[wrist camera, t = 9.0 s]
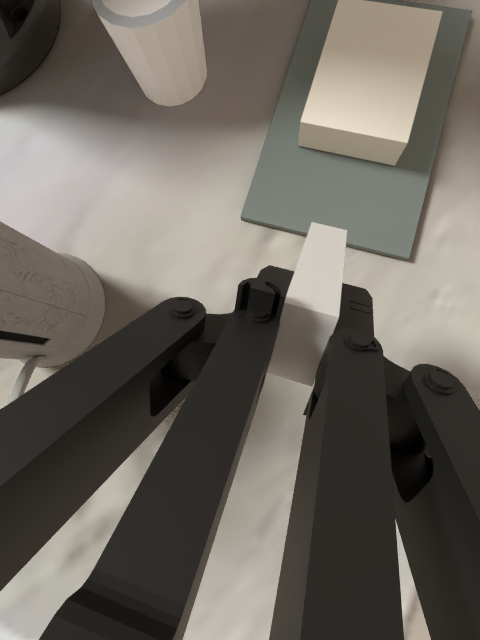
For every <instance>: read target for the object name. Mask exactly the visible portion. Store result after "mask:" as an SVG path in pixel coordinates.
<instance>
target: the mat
mask: <svg viewBox="0 0 480 640" xmlns="http://www.w3.org/2000/svg"><path fill="white" fill-rule="evenodd" d="M365 1H372V2H379V3H387V4H394V5H401V6H408V7H415V8H422V9H429V10H436V11H443V12H442V16H441V20H440V23H439V27H438V31H437V35H436V38H435V42H434V46H433V50H432V53H431V57H430V61H429V65H428V68H427V72H426V76H425V80H424V83H423V87H422V91H421V95H420V98H419V102H418V106H417V110H416V113H415V117H414V121H413V125H412V128H411V132H410V136H409V140H408V143H407V145H406V147H405V148H404V150H403V152H402V154H401V156H400V157H399V159H398V161H397V163H396V164H395V166H393V165H389V164H384V163H379V162H374V161H369V160H365V159H360V158H355V157H350V156H345V155H341V154H336V153H331V152H326V151H321V150H317V149H312V148H307V147H302V146H298V140H299V130H300V121H301V118H302V115H303V111H304V108H305V105H306V102H307V99H308V95H309V92H310V89H311V86H312V83H313V79H314V76H315V73H316V70H317V67H318V63H319V60H320V57H321V54H322V51H323V47H324V44H325V41H326V38H327V35H328V31H329V28H330V25H331V22H332V19H333V15H334V12H335V9H336V6H337V3H338V0H311V1H310V4H309V7H308V11H307V14H306V17H305V20H304V23H303V26H302V29H301V32H300V35H299V38H298V41H297V44H296V48H295V51H294V54H293V57H292V60H291V63H290V66H289V69H288V72H287V75H286V78H285V81H284V85H283V88H282V91H281V94H280V97H279V100H278V103H277V106H276V109H275V112H274V115H273V118H272V122H271V125H270V128H269V131H268V134H267V137H266V140H265V143H264V146H263V149H262V152H261V155H260V159H259V162H258V165H257V168H256V171H255V174H254V177H253V180H252V183H251V186H250V189H249V192H248V196H247V199H246V202H245V205H244V208H243V211H242V214H241V220H243V221H247V222H252V223H256V224H260V225H264V226H268V227H272V228H276V229H280V230H284V231H288V232H292V233H296V234H300V235H304V236H307V234H308V231H309V228H310V226H311V223H312V222H314V223H318V224H323V225H327V226H331V227H335V228H340V229H344V230H347V238H346V246H349V247H353V248H357V249H361V250H365V251H369V252H373V253H377V254H381V255H385V256H389V257H393V258H397V259H401V260H405V261H407V260H408V259H409V257H410V253H411V249H412V245H413V241H414V237H415V234H416V230H417V226H418V222H419V218H420V214H421V210H422V206H423V202H424V198H425V194H426V190H427V186H428V182H429V178H430V174H431V170H432V167H433V163H434V159H435V155H436V151H437V147H438V143H439V139H440V135H441V131H442V127H443V123H444V119H445V115H446V111H447V107H448V104H449V100H450V96H451V92H452V88H453V84H454V80H455V76H456V72H457V68H458V64H459V60H460V56H461V52H462V48H463V44H464V40H465V37H466V33H467V29H468V25H469V21H470V17H471V13H472V11H470V10H463V9H455V8H448V7H441V6H434V5H427V4H419V3H412V2H405V1H398V0H365Z"/></svg>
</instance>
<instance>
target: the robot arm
mask: <svg viewBox="0 0 480 640" xmlns="http://www.w3.org/2000/svg"><path fill="white" fill-rule="evenodd" d="M59 18H60V6H59V0H0V94H1V93H3V92H5V91H7V90H9V89H10V88H12V87H14V86H15V85H17V84H18V83H20V82H21V81H22V80H24V79H25V78H26V77H27V76H28V75H29V74H30V73H31V72H32V71H34V69H35V68H36V67H37V66H38V65H39V64H40V62H41V61H42V60H43V59H44V57H45V56H46V54H47V52H48V51H49V49H50V47H51V45H52V43H53V41H54V39H55V36H56V33H57V29H58V25H59ZM346 238H347V230H344V229H340V228H335V227H331V226H327V225H323V224H318V223H314V222H312V223H311V226H310V228H309V231H308V234H307V237H306V240H305V243H304V246H303V249H302V252H301V255H300V257H299V260H298V263H297V266H296V269H295V272H294V271H290V270H286V269H282V268H278V267H274V266H271V265H269V266H267V267H266V268H264V269H262V270H261V271H260V273H259V275H258V277H257V278H249V279H246V280H243V281H242V282H241V283H240V284H239V285H238V292H237V298H236V305H235V310H234V311H233V312H232V313H229V314H206V309H205V307H204V306H203V304H202V303H200V302H199V301H197V300H195V299H191V298H188V297H175V298H170V299H167V300H165V301H163V302H162V303H160V304H159V305H157V306H156V307H154V308H153V309H151V310H150V311H148V312H147V313H145V314H143V315H142V316H140V317H139V318H137V319H136V320H134V321H133V322H131V323H130V324H128V325H127V326H125V327H124V328H122V329H121V330H119V331H118V332H116V333H115V334H113V335H112V336H110V337H109V338H107V339H106V340H104V341H103V342H101V343H100V344H98V345H97V346H95V347H94V348H92V349H91V350H89V351H88V352H86V353H85V354H83V355H82V356H80V357H79V358H77V359H76V360H74V361H73V362H71V363H70V364H68V365H67V366H65V367H64V368H62V369H61V370H59V371H58V372H56V373H55V374H53V375H52V376H50V377H49V378H47V379H46V380H44V381H43V382H41V383H40V384H38V385H37V386H35V387H34V388H32V389H31V390H29V391H28V392H26V393H25V394H23V395H21V396H20V397H18V398H17V399H15V400H14V401H12V402H11V403H9V404H8V405H6V406H5V407H3V408H2V409H0V591H1V590H2V589H3V588H4V587H5V586H6V585H7V584H8V583H9V582H10V580H11V579H12V578H13V577H14V576H15V575H16V574H17V573H18V572H19V571H20V570H21V569H22V568H23V567H24V566H25V565H26V564H27V563H28V562H29V561H30V560H31V558H32V557H33V556H34V555H35V554H36V553H37V552H38V551H39V550H40V549H41V548H42V547H43V546H44V545H45V544H46V543H47V542H48V541H49V540H50V539H51V537H52V536H53V535H54V534H55V533H56V532H57V531H58V530H59V529H60V528H61V527H62V526H63V525H64V524H65V523H66V522H67V521H68V520H69V519H70V518H71V517H72V515H73V514H74V513H75V512H76V511H77V510H78V509H79V508H80V507H81V506H82V505H83V504H84V503H85V502H86V501H87V500H88V499H89V498H90V497H91V496H92V495H93V493H94V492H95V491H96V490H97V489H98V488H99V487H100V486H101V485H102V484H103V483H104V482H105V481H106V480H107V479H108V478H109V477H110V476H111V475H112V474H113V472H114V471H115V470H116V469H117V468H118V467H119V466H120V465H121V464H122V463H123V462H124V461H125V460H126V459H127V458H128V457H129V456H130V455H131V454H132V453H133V452H134V450H135V449H136V448H137V447H138V446H139V445H140V444H141V443H142V442H143V441H144V440H145V439H146V438H147V437H148V436H149V435H150V434H151V433H152V432H153V431H154V429H155V428H156V427H157V426H158V425H159V424H160V423H161V422H162V421H163V420H164V419H165V418H166V417H167V416H168V415H169V414H170V413H171V412H172V411H173V410H174V409H175V407H176V406H177V405H178V404H179V403H180V402H181V401H182V400H183V399H184V398H185V397H186V396H187V395H188V396H187V398H186V400H185V402H184V404H183V405H182V407H181V409H180V411H179V413H178V415H177V416H176V418H175V420H174V422H173V424H172V426H171V427H170V429H169V431H168V433H167V435H166V437H165V439H164V440H163V442H162V444H161V446H160V448H159V450H158V451H157V453H156V455H155V457H154V459H153V461H152V462H151V464H150V466H149V468H148V470H147V472H146V474H145V475H144V477H143V479H142V481H141V483H140V485H139V486H138V488H137V490H136V492H135V494H134V496H133V498H132V499H131V501H130V503H129V505H128V507H127V509H126V510H125V512H124V514H123V516H122V518H121V520H120V521H119V523H118V525H117V527H116V529H115V531H114V533H113V534H112V536H111V538H110V540H109V542H108V544H107V545H106V547H105V549H104V551H103V553H102V555H101V556H100V558H99V560H98V562H97V564H96V566H95V568H94V569H93V571H92V573H91V574H90V576H89V578H88V579H87V580H86V582H85V583H84V584H83V586H82V587H81V588H80V589H79V590H77V591H76V592H75V593H74V594H72V595H71V596H70V597H69V598H68V599H67V600H66V601H65V602H64V603H63V605H62V606H61V607H60V609H59V610H58V611H57V612H56V614H55V615H54V617H53V618H52V620H51V621H50V623H49V624H48V626H47V628H46V629H45V631H44V632H43V634H42V636H41V637H40V639H39V640H183V636H184V633H185V630H186V627H187V624H188V621H189V618H190V614H191V611H192V608H193V605H194V602H195V599H196V595H197V592H198V589H199V586H200V583H201V580H202V576H203V573H204V570H205V567H206V564H207V561H208V558H209V554H210V551H211V548H212V545H213V542H214V539H215V535H216V532H217V529H218V526H219V523H220V520H221V516H222V513H223V510H224V507H225V504H226V501H227V497H228V494H229V491H230V488H231V485H232V482H233V479H234V475H235V472H236V469H237V466H238V463H239V460H240V456H241V453H242V450H243V447H244V444H245V441H246V437H247V434H248V431H249V428H250V425H251V422H252V419H253V415H254V412H255V409H256V406H257V403H258V400H259V396H260V393H261V390H262V387H263V384H264V380H265V376H266V372H267V373H270V374H274V375H277V376H280V377H283V378H287V379H290V380H293V381H296V382H300V383H303V384H306V385H309V386H312V385H313V383H314V380H315V384H314V388H313V391H312V393H311V396H310V398H309V401H308V403H307V406H306V408H305V411H304V414H303V415H306V422H305V428H304V434H303V440H302V446H301V452H300V458H299V464H298V470H297V476H296V482H295V488H294V494H293V500H292V506H291V512H290V518H289V524H288V530H287V536H286V542H285V548H284V554H283V560H282V566H281V572H280V578H279V584H278V590H277V596H276V602H275V608H274V614H273V620H272V626H271V632H270V638H269V640H404V633H403V620H402V606H401V592H400V579H399V565H398V551H397V537H396V524H395V518H396V522H397V525H398V529H399V532H400V535H401V539H402V542H403V546H404V549H405V552H406V556H407V559H408V563H409V566H410V569H411V573H412V576H413V580H414V583H415V586H416V590H417V593H418V597H419V600H420V603H421V607H422V610H423V613H424V617H425V620H426V624H427V627H428V630H429V634H430V637H431V640H480V411H479V409H478V408H477V406H476V404H475V403H474V401H473V400H472V398H471V396H470V395H469V393H468V392H467V390H466V388H465V387H464V386H463V384H462V383H461V382H460V381H459V380H458V379H457V378H456V377H455V376H453V375H452V374H451V373H449V372H448V371H446V370H444V369H442V368H440V367H437V366H433V365H429V364H419V365H417V366H415V367H413V368H412V370H411V372H410V371H408V370H406V369H404V368H402V367H400V366H398V365H396V364H394V363H393V362H391V361H389V360H388V359H387V358H385V357H384V356H383V349H382V347H381V344H380V343H379V342H378V341H377V339H376V338H375V337H374V324H373V308H372V307H373V303H372V297H371V296H370V294H369V293H368V291H367V290H366V289H364V288H360V287H356V286H352V285H348V284H344V283H342V280H343V269H344V259H345V248H346Z"/></svg>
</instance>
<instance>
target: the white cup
mask: <svg viewBox="0 0 480 640" xmlns="http://www.w3.org/2000/svg"><path fill="white" fill-rule="evenodd" d="M90 1H91V3H92V5H93V7H94V9H95V11H96V13H97V14H98V16H99V18H100V20H101V21H102V23H103V25H104V26H105V28H106V30H107V31H108V33H109V35H110V36H111V38H112V40H113V41H114V43H115V45H116V46H117V48H118V50H119V52H120V53H121V55H122V57H123V58H124V60H125V62H126V63H127V65H128V67H129V68H130V70H131V72H132V73H133V75H134V77H135V78H136V80H137V82H138V83H139V85H140V87H141V89H142V90H143V92H144V94H145V95H146V97H147V98H149V99H150V100H151V101H153V102H154V103H156V104H159V105H164V106H175V105H182V104H184V103H186V102H187V101H189V100H191V99H193V98H194V97H195V96H196V95H197V94H198V93H199V92H200V91H201V90H202V89H203V86H204V84H205V81H206V78H207V66H206V58H205V49H204V41H203V33H202V25H201V17H200V9H199V1H198V0H90Z"/></svg>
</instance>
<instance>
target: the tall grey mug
mask: <svg viewBox="0 0 480 640" xmlns="http://www.w3.org/2000/svg"><path fill="white" fill-rule="evenodd" d="M104 313H105V295H104V290H103V287H102V284H101V281H100V279H99V278H98V276H97V274H96V273H95V271H94V270H93V269H92V268H91V267H90V266H89V265H88V264H87V263H85V262H84V261H82V260H80V259H79V258H77V257H74V256H71V255H68V254H62V253H56V252H54V251H52V250H50V249H49V248H47V247H45V246H43V245H41V244H40V243H38V242H36V241H34V240H32V239H31V238H29V237H27V236H25V235H23V234H22V233H20V232H18V231H16V230H14V229H13V228H11V227H9V226H7V225H5V224H4V223H2V222H0V358H7V359H18V360H20V361H21V362H23V363H26V364H25V365H24V367H23V369H22V370H21V372H20V374H19V376H18V378H17V380H16V383H15V385H14V387H13V389H12V391H11V394H10V396H9V398H8V400H7V402H6V404H5V406H6V405H8V404H9V403H11V402H12V401H14V400H15V399H17V398H18V397H20V396H21V395H23V394H24V391H25V389H26V387H27V384H28V382H29V380H30V377H31V375H32V373H33V371H34V369H35V367H36V366H38V367H52V366H57V365H61V364H63V363H66V362H68V361H71V360H72V359H74V358H75V357H77V356H79V355H80V354H81V353H82V352H83V351H84V350H86V349H87V348H88V346H89V345H90V344H91V343H92V341H93V340H94V339H95V337H96V335H97V334H98V332H99V330H100V327H101V325H102V322H103V318H104ZM5 406H4V407H5Z"/></svg>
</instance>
